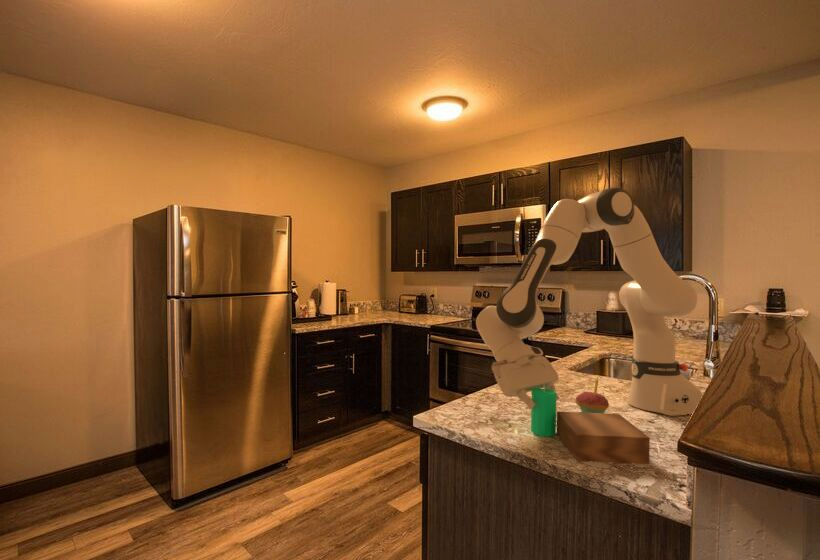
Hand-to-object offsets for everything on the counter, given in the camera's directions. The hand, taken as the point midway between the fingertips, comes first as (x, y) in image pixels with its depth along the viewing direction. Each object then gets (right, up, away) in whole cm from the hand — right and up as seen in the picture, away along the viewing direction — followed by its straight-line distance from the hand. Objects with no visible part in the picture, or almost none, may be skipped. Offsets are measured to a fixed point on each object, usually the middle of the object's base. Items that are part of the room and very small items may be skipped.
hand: (545, 403), depth 104 cm
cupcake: (+17, -8, +11) cm, 22 cm away
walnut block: (+10, -8, -9) cm, 15 cm away
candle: (0, -7, 0) cm, 8 cm away
